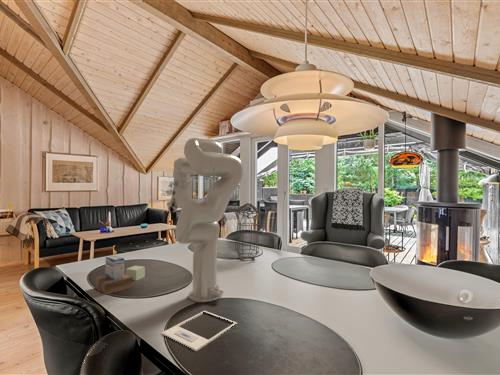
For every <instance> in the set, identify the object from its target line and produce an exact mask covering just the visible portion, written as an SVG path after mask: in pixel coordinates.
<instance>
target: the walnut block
mask: <svg viewBox="0 0 500 375" xmlns="http://www.w3.org/2000/svg"><path fill="white" fill-rule="evenodd" d="M132 279H133V277H131V276H129V275H127V274H126V272H124V278H121V279H117V280H113V279H110V278H107V277H106V276H105V275H102V276H96V277H95V289H96V290H98V291H99V292H100V291H101V293H102V294H103V293H104V294H103V295H105V296H108V295H110V293H111V294H114V293H113V292H115V293H118V291H119V292H122V291H125V289H126V290H128V289H129V288H130V289H133V280H132ZM107 294H108V295H107Z"/></svg>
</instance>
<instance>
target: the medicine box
mask: <svg viewBox="0 0 500 375" xmlns="http://www.w3.org/2000/svg"><path fill="white" fill-rule="evenodd" d="M104 265H105V268H104V276H106V277H107V278H110V279H113V280H117V279H121V278H124V273H125V258H124V257H122V256H121V257H120V256H117V255H110V256H106V257H105V264H104Z"/></svg>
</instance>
